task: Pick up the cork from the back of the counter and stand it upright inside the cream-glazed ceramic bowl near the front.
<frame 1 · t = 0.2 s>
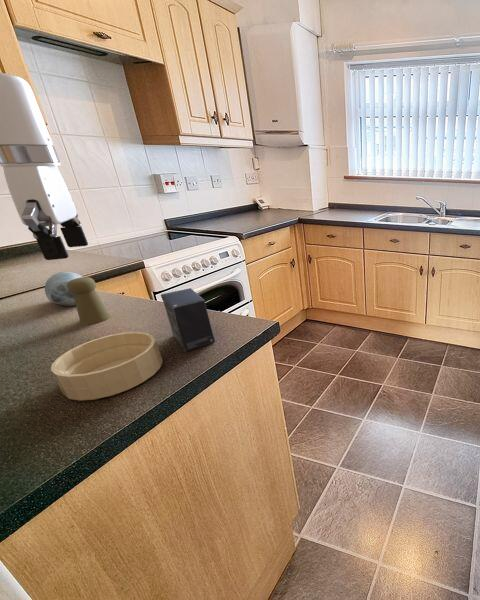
hand: (68, 252, 66), 21 cm above the table, tool pointing down, fingers open, 9 cm apart
cork: (96, 319, 86), on the table
light blue rounded lump: (72, 302, 97), on the table
bowl: (116, 376, 64), on the table
small box: (194, 339, 77), on the table
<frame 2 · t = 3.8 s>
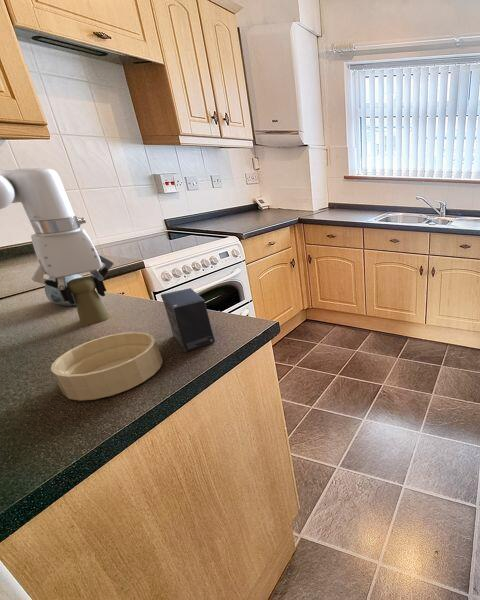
hand: (86, 298, 84), 6 cm above the table, tool pointing down, fingers closed on cork, 5 cm apart
cork: (96, 319, 86), on the table, touching gripper
everything else where it was.
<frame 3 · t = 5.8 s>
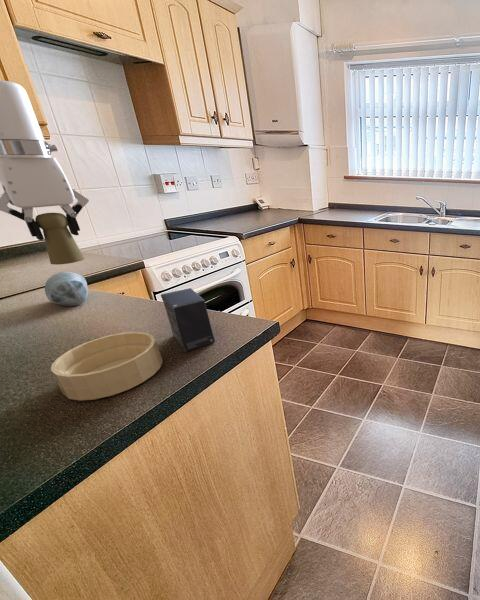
hand: (58, 236, 77), 22 cm above the table, tool pointing down, fingers closed on cork, 5 cm apart
cork: (68, 261, 79), point 16 cm above the table, touching gripper
everything else where it was.
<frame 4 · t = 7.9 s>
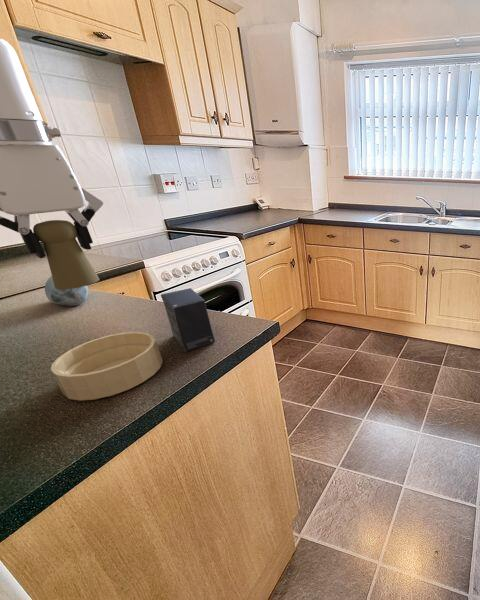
hand: (64, 251, 58), 24 cm above the table, tool pointing down, fingers closed on cork, 5 cm apart
cork: (78, 284, 60), point 18 cm above the table, touching gripper
everything else where it was.
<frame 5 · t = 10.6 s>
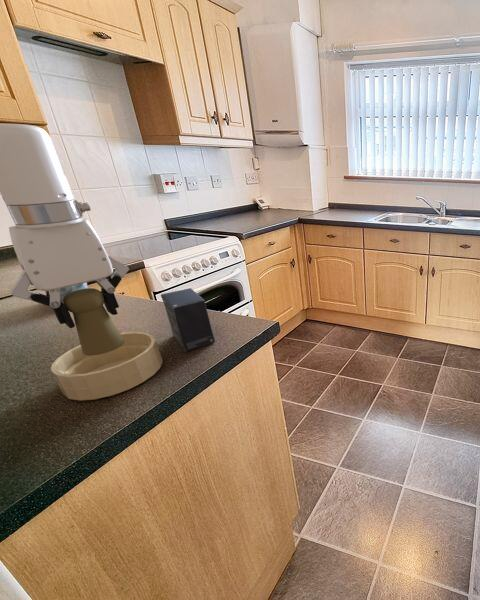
hand: (91, 318, 59), 12 cm above the table, tool pointing down, fingers closed on cork, 5 cm apart
cork: (104, 347, 61), point 6 cm above the table, touching gripper
everything else where it was.
when the fingers open (6 cm above the table, at t = 12.5 s): cork stays where it is, resting on bowl.
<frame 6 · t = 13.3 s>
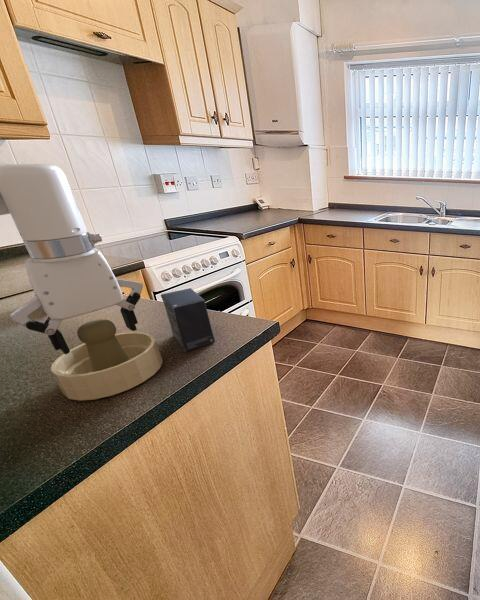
hand: (100, 339, 61), 8 cm above the table, tool pointing down, fingers open, 9 cm apart
cork: (115, 374, 64), resting on bowl
everything else where it was.
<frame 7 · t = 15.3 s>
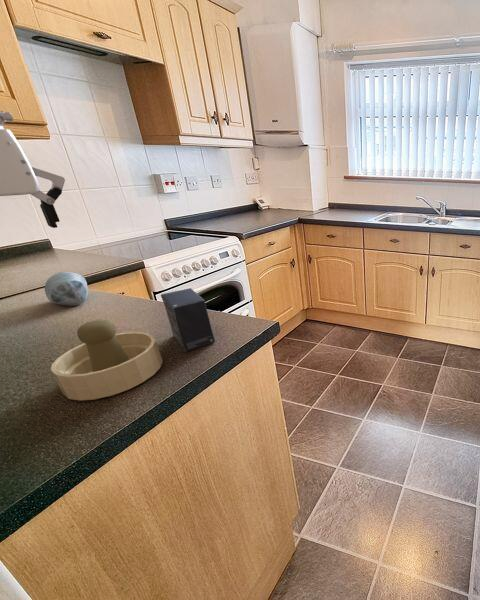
hand: (15, 231, 57), 27 cm above the table, tool pointing down, fingers open, 9 cm apart
nothing on the table moved.
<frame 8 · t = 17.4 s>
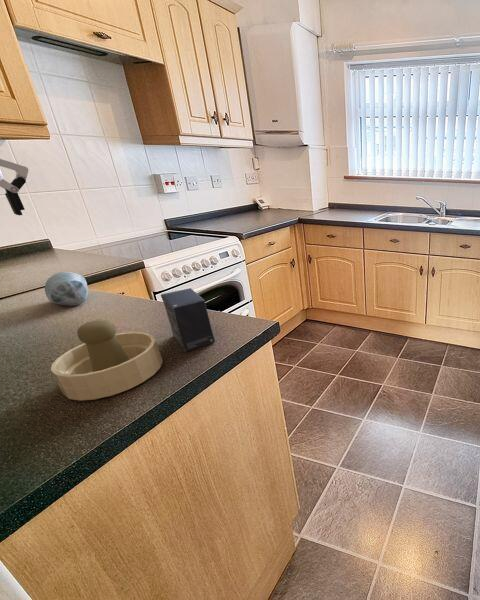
nothing on the table moved.
at the end: cork inside the target area in the bowl (0.1 cm from its centre), point 0.3 cm above the bowl's base; cork tilted 0°; the gripper is holding nothing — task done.
